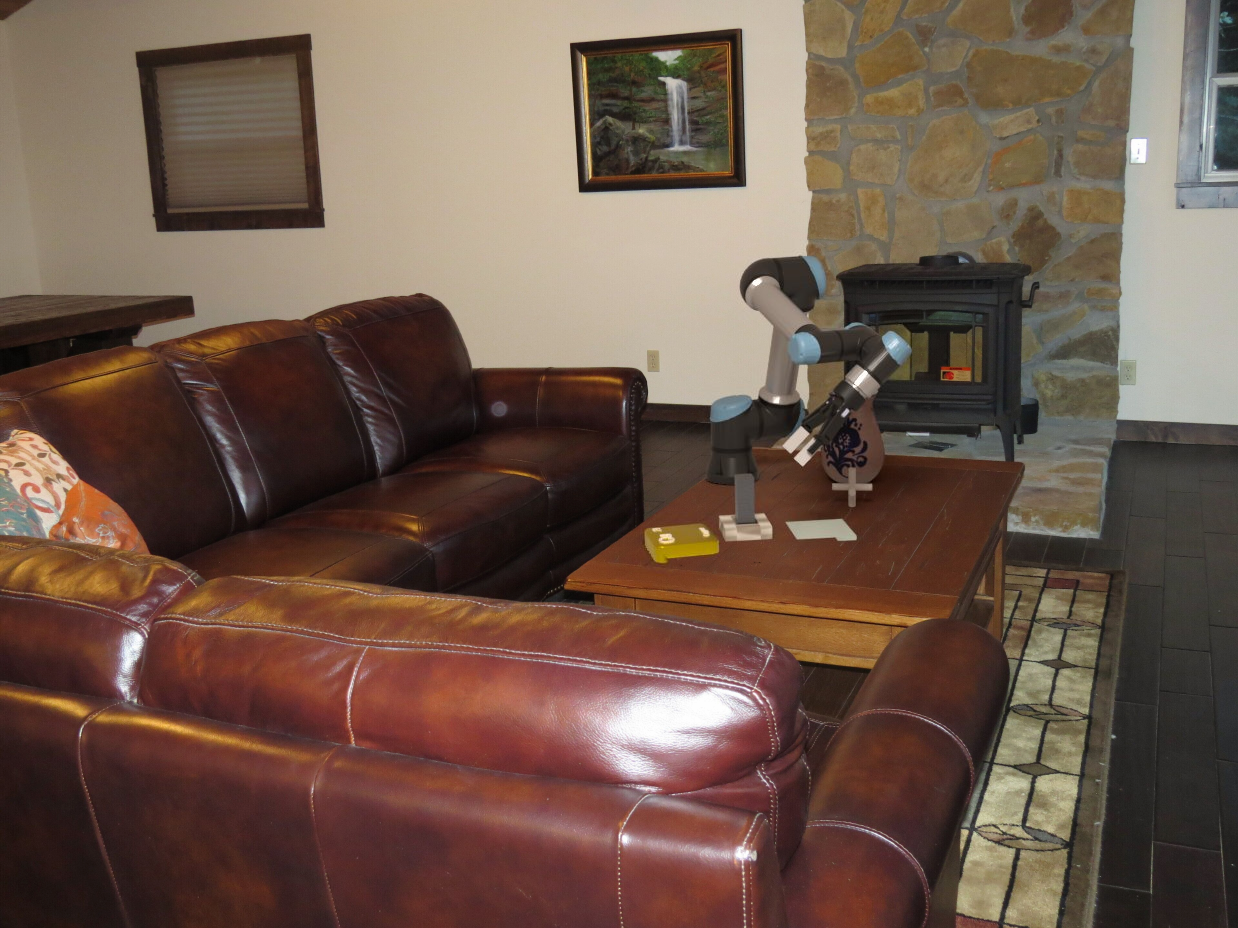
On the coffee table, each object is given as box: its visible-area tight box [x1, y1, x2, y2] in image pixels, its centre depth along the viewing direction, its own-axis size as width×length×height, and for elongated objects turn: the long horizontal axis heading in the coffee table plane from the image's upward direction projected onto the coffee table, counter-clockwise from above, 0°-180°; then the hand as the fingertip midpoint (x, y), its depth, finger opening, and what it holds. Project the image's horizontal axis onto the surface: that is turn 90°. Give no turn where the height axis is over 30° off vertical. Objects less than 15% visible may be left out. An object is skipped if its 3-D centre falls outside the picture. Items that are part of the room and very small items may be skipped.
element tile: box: [644, 523, 720, 564], centre depth 260 cm, size 15×15×5 cm
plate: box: [785, 518, 858, 542], centre depth 269 cm, size 14×14×1 cm
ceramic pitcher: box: [820, 391, 886, 484], centre depth 312 cm, size 18×21×25 cm
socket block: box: [718, 512, 773, 542], centre depth 268 cm, size 11×11×4 cm
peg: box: [734, 474, 756, 525], centre depth 266 cm, size 4×4×14 cm
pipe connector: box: [831, 468, 873, 508], centre depth 289 cm, size 10×10×10 cm
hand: (792, 456), depth 264 cm, fingers open, 13 cm apart
